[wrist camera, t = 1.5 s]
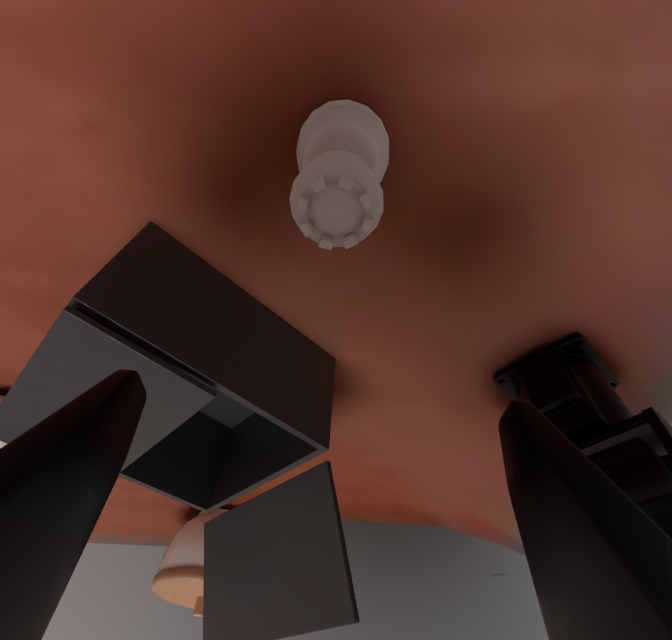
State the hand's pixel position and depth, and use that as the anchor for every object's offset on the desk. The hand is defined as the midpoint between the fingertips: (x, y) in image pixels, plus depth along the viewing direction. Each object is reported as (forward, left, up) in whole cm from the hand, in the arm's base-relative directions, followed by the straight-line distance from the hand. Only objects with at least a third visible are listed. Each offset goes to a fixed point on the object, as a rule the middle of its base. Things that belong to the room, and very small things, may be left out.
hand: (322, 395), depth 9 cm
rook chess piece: (+2, -1, -14) cm, 14 cm away
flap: (-10, +16, -2) cm, 18 cm away
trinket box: (-18, +39, -14) cm, 45 cm away
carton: (-1, +16, -14) cm, 21 cm away
